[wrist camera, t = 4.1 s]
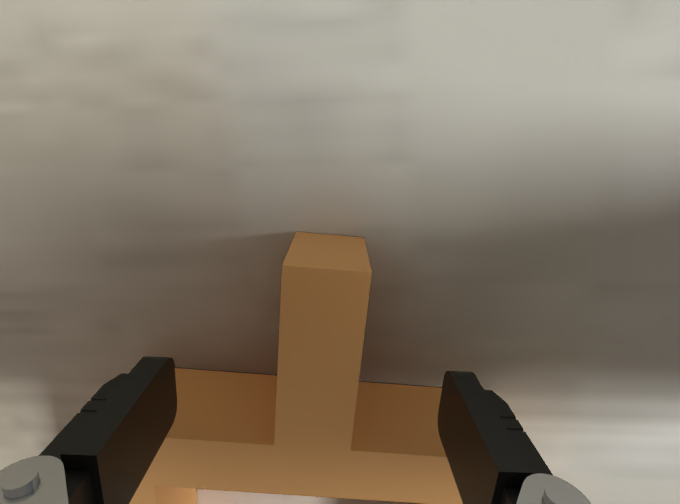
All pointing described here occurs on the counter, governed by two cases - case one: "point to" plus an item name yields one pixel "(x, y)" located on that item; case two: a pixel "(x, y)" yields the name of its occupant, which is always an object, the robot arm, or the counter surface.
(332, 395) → the orange square frame tab
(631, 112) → the counter surface
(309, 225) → the counter surface
